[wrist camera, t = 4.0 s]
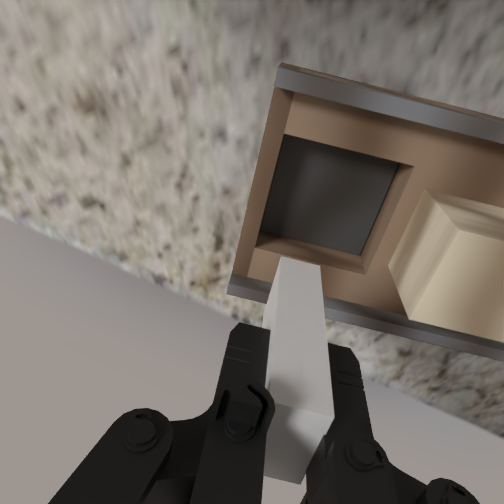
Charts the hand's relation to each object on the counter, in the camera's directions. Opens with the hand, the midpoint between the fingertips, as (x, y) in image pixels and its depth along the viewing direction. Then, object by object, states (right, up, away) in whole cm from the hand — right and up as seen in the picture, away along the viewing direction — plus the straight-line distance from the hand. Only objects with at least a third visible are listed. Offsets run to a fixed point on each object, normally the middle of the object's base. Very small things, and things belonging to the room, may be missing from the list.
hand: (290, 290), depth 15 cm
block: (+10, +2, +7) cm, 12 cm away
